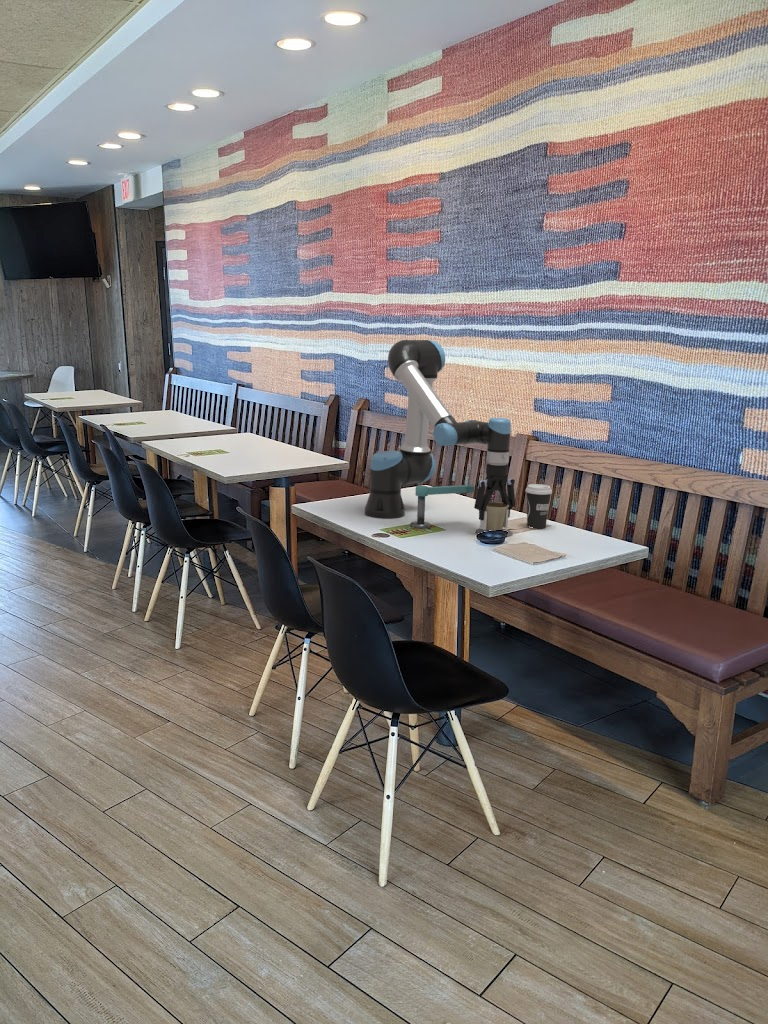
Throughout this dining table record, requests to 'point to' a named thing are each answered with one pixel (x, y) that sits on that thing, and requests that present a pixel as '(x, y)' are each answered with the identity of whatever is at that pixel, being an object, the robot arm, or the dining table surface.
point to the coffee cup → (537, 505)
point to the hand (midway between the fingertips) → (493, 528)
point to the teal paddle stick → (443, 490)
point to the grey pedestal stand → (420, 515)
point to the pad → (488, 530)
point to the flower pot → (495, 515)
